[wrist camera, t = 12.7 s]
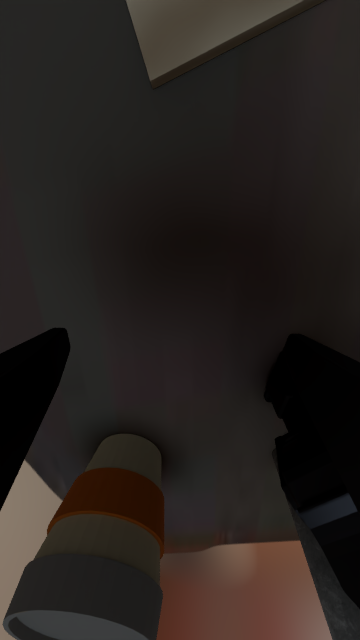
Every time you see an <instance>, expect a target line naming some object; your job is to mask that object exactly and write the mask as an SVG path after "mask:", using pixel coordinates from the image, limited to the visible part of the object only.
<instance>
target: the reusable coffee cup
mask: <svg viewBox="0 0 360 640" xmlns="http://www.w3.org/2000/svg"><path fill="white" fill-rule="evenodd" d="M163 554H164V496H163V494H162V492H161V454H160V451H159V450H158V448H157V447H156V446H155V445H154V444H153V443H152V442H150V441H149V440H147V439H145V438H143V437H140V436H138V435H133V434H116V435H112V436H110V437H107V438H106V439H104V440H103V441H102V442H101V444H100V445H99V447H98V449H97V451H96V452H95V454H94V456H93V457H92V459H91V461H90V463H89V464H88V466H87V468H86V470H85V471H84V473H83V474H81V475H80V476H78V478H77V479H76V480H75V482H74V483H73V485H72V487H71V488H70V490H69V492H68V493H67V495H66V497H65V498H64V500H63V502H62V504H61V505H60V507H59V509H58V510H57V512H56V514H55V515H54V517H53V519H52V520H51V522H50V524H49V526H48V529H47V537H46V539H45V541H44V542H43V544H42V546H41V548H40V549H39V551H38V553H37V555H36V556H35V558H34V560H33V561H31V562H29V563H28V565H27V566H26V567H25V569H24V571H23V574H22V576H21V579H20V581H19V584H18V586H17V588H16V591H15V594H14V596H13V598H12V601H11V603H10V606H9V608H8V610H7V613H6V615H5V618H4V621H3V626H4V629H5V630H6V631H7V632H8V633H9V634H10V635H11V636H12V637H14V638H15V639H17V640H156V637H157V631H158V624H159V618H160V611H161V605H162V599H163V593H162V590H161V588H160V559H161V558H162V556H163Z"/></svg>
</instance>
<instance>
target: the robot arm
mask: <svg viewBox="0 0 360 640" xmlns="http://www.w3.org/2000/svg"><path fill="white" fill-rule="evenodd" d="M69 352H70V342H69V338H68V333H67V330H66V329H65V328H52V329H50V330H48V331H46V332H44V333H42V334H40V335H38V336H36V337H34V338H32V339H30V340H28V341H26V342H23V343H21V344H19V345H17V346H15V347H13V348H11V349H9V350H7V351H5V352H3V353H1V354H0V510H1V508H2V506H3V504H4V502H5V500H6V498H7V495H8V493H9V491H10V489H11V487H12V485H13V483H14V480H15V478H16V476H17V474H18V472H19V470H20V468H21V465H22V463H23V461H24V459H25V457H26V455H27V453H28V450H29V448H30V446H31V444H32V442H33V440H34V437H35V435H36V433H37V431H38V429H39V427H40V425H41V422H42V420H43V418H44V416H45V414H46V412H47V410H48V407H49V405H50V403H51V401H52V399H53V397H54V394H55V392H56V390H57V388H58V386H59V383H60V380H61V377H62V374H63V371H64V368H65V365H66V362H67V359H68V356H69ZM268 397H269V398H268ZM264 398H265V400H266V401H267V402H272V404H273V407H274V409H275V412H276V414H277V416H278V417H279V418H281V419H283V421H284V423H285V425H286V428H287V430H288V433H286V434H285V435H283V436H279V437H277V438H275V444H276V452H277V460H278V468H279V475H280V481H281V487H282V489H283V491H284V493H285V494H286V498H287V500H288V502H289V503H290V504H291V505H292V507H293V509H294V510H295V512H296V513H297V515H298V516H299V517H300V519H301V520H302V521H303V522H304V523H305V524H306V525H307V526H308V527H309V528H310V530H311V532H312V533H313V535H314V537H315V538H316V540H317V541H318V543H319V545H320V546H321V548H322V550H323V552H324V554H325V556H326V558H327V560H328V562H329V564H330V566H331V567H332V569H333V571H334V573H335V575H336V577H337V579H338V581H339V583H340V585H341V587H342V589H343V591H344V592H345V593H346V595H347V596H348V597H349V598H350V599H351V600H352V601H353V602H354V603H355V604H356V606H357V607H358V608H359V609H360V362H358V361H356V360H354V359H352V358H349V357H347V356H345V355H343V354H341V353H339V352H337V351H335V350H333V349H331V348H329V347H327V346H325V345H323V344H320V343H318V342H316V341H314V340H312V339H310V338H308V337H306V336H304V335H302V334H290V335H289V336H288V339H287V341H286V344H285V347H284V350H283V352H281V353H280V355H279V358H278V360H277V363H276V365H275V368H274V369H273V370H272V372H271V374H270V377H269V380H268V382H267V385H266V392H265V394H264Z"/></svg>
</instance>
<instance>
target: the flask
mask: <svg viewBox="0 0 360 640" xmlns="http://www.w3.org/2000/svg"><path fill="white" fill-rule="evenodd" d="M272 456H273V459H274V462H275V465H276V468H277V471H278V474H279V468H278V460H277V452H276V449H274V451H273V452H272ZM279 477H280V475H279ZM285 495H286V494H285ZM286 499H287V498H286ZM287 502H288V500H287ZM288 505H289V508H290V511H291V514H292V517H293V520H294V523H295V526H296V529H297V532H298V535H299V538H300V541H301V544H302V547H303V550H304V553H305V557H306V560H307V563H308V566H309V569H310V572H311V575H312V578H313V581H314V584H315V587H316V590H317V593H318V596H319V599H320V602H321V605H322V608H323V612H324V615H325V618H326V621H327V624H328V627H329V630H330V633H331V636H332V639H333V640H360V609H359V608H358V607H357V606H356V604H355V603H354V602H353V601H352V600H351V599H350V598H349V597H348V596H347V595H346V593H345V592H344V591H343V589H342V587H341V585H340V583H339V581H338V579H337V577H336V575H335V573H334V571H333V569H332V567H331V566H330V564H329V562H328V560H327V558H326V556H325V554H324V552H323V550H322V548H321V546H320V545H319V543H318V541H317V540H316V538H315V537H314V535H313V533H312V532H311V530H310V528H309V527H308V526H307V525H306V524H305V523H304V522H303V521H302V520H301V519H300V517H299V516H298V515H297V513H296V512H295V510H294V509H293V507H292V505H291V504H290V503H289V502H288Z"/></svg>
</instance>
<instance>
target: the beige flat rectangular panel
mask: <svg viewBox="0 0 360 640" xmlns="http://www.w3.org/2000/svg"><path fill="white" fill-rule="evenodd" d="M323 1H325V0H126V2H127V5H128V8H129V12H130V15H131V18H132V22H133V25H134V28H135V32H136V35H137V38H138V42H139V45H140V48H141V52H142V55H143V58H144V62H145V65H146V68H147V72H148V75H149V78H150V82H151V85H152V88H153V89H155V88H157V87H159V86H161V85H162V84H164V83H166V82H168V81H170V80H172V79H174V78H176V77H178V76H180V75H182V74H184V73H186V72H188V71H190V70H192V69H193V68H195V67H197V66H199V65H201V64H203V63H205V62H207V61H209V60H211V59H213V58H215V57H217V56H219V55H221V54H222V53H224V52H226V51H228V50H230V49H232V48H234V47H236V46H238V45H240V44H242V43H244V42H246V41H248V40H250V39H252V38H253V37H255V36H257V35H259V34H261V33H263V32H265V31H267V30H269V29H271V28H273V27H275V26H277V25H279V24H281V23H283V22H284V21H286V20H288V19H290V18H292V17H294V16H296V15H298V14H300V13H302V12H304V11H306V10H308V9H310V8H312V7H313V6H315V5H317V4H319V3H321V2H323Z"/></svg>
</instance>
